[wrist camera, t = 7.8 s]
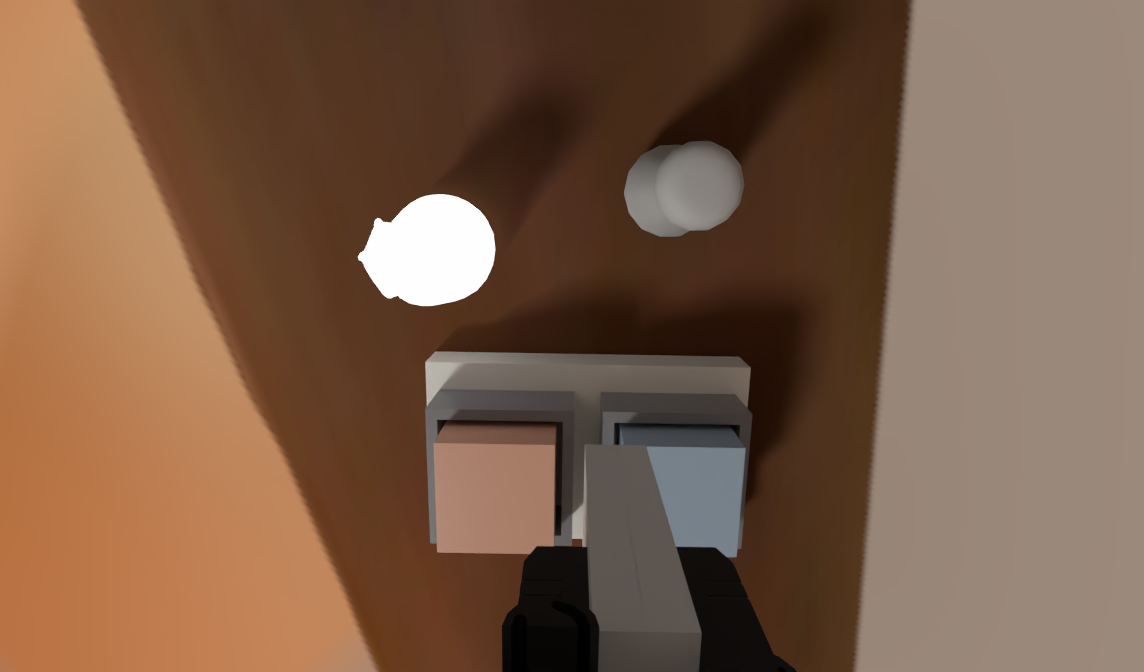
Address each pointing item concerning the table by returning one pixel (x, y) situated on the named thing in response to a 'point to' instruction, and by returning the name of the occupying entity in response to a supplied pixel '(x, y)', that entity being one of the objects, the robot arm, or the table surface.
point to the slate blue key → (695, 479)
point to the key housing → (584, 405)
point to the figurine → (431, 251)
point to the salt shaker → (683, 188)
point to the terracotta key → (495, 486)
